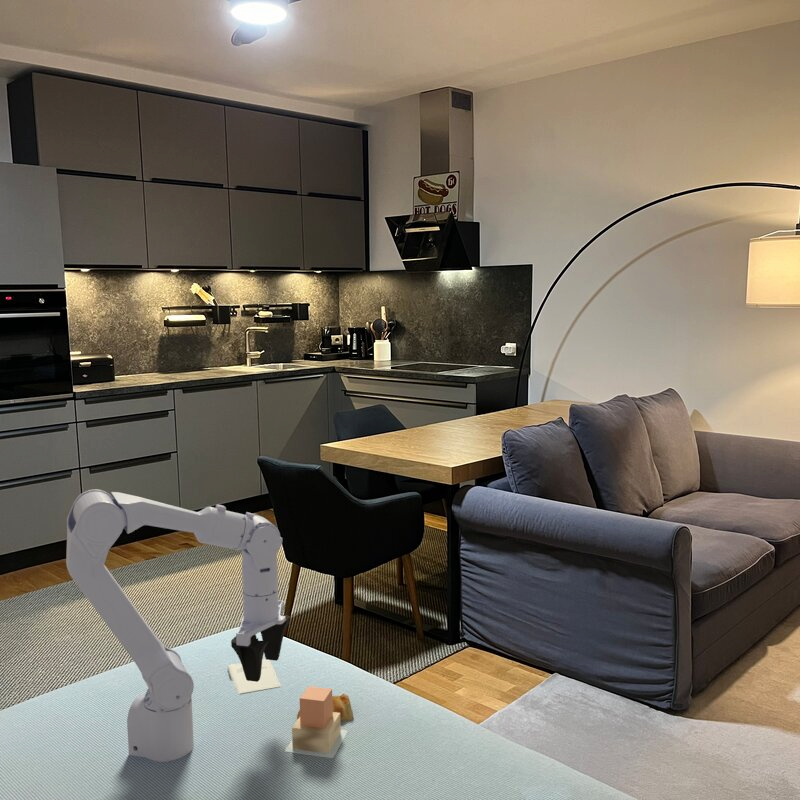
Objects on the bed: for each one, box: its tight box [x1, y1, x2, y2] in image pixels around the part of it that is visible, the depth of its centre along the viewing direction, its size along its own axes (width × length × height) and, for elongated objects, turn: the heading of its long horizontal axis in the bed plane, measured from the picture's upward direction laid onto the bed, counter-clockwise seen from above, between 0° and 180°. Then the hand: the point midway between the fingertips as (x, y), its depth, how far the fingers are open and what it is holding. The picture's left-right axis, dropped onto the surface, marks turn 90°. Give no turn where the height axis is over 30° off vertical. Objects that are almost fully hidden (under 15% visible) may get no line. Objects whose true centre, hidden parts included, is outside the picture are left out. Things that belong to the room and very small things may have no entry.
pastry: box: [296, 693, 354, 723], centre depth 134 cm, size 9×7×4 cm
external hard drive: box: [227, 658, 283, 695], centre depth 149 cm, size 2×8×12 cm
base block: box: [291, 712, 342, 753], centre depth 126 cm, size 6×6×4 cm
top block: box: [299, 685, 333, 728], centre depth 125 cm, size 4×4×4 cm
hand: (262, 669), depth 130 cm, fingers open, 7 cm apart
